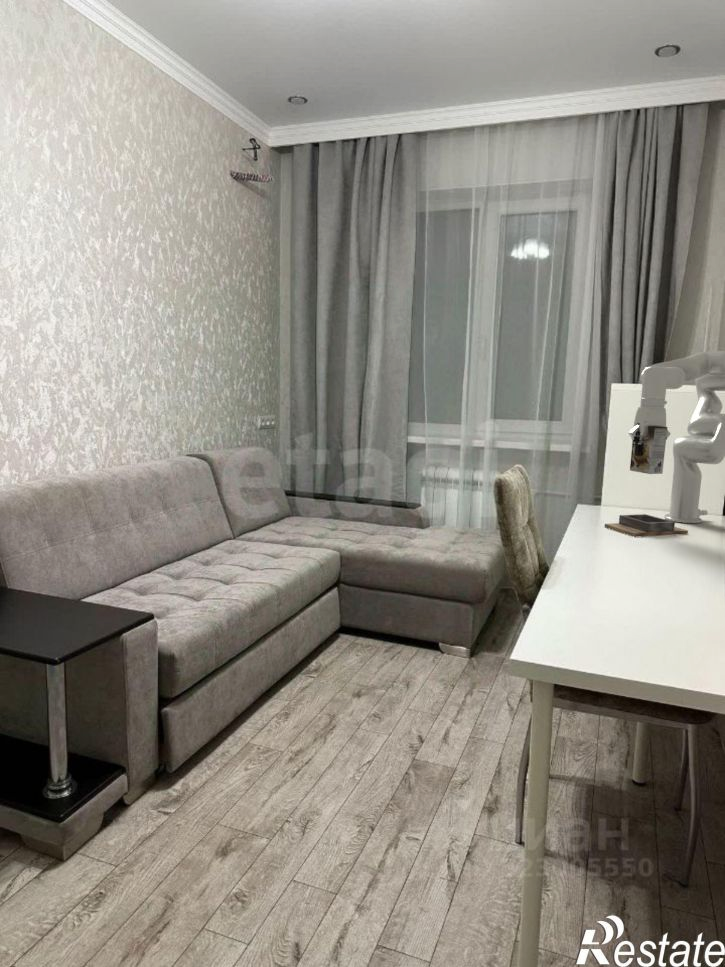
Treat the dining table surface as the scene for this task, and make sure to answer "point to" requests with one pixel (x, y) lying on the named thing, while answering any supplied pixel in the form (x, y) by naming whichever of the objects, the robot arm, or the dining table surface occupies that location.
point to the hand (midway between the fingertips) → (647, 455)
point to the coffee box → (650, 451)
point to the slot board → (645, 526)
